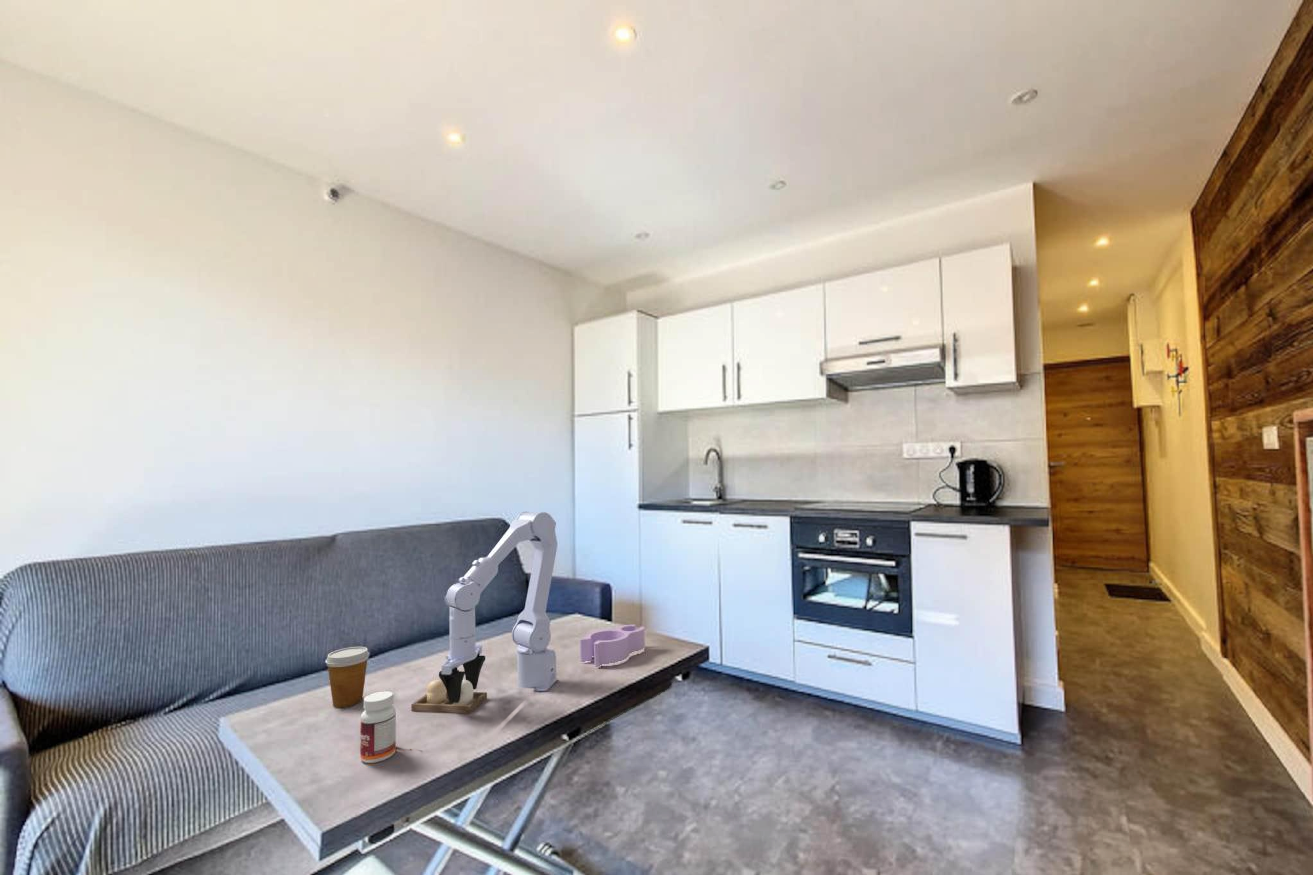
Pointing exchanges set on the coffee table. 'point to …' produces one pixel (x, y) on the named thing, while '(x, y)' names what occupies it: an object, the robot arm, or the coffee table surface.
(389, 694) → the pill bottle
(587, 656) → the clip
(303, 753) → the coffee table surface
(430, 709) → the egg crate
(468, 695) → the cream egg
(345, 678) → the disposable coffee cup
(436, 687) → the brown egg
